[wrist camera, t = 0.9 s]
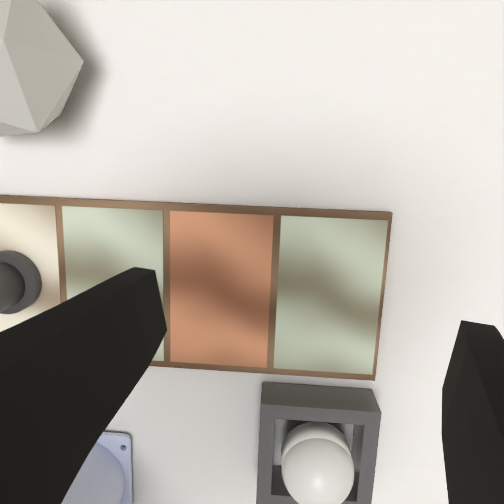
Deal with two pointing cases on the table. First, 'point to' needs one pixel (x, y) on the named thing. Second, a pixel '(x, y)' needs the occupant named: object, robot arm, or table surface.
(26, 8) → the die
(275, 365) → the game track
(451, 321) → the table surface
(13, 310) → the pawn
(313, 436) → the dome
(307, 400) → the dome housing
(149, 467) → the table surface
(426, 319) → the table surface
